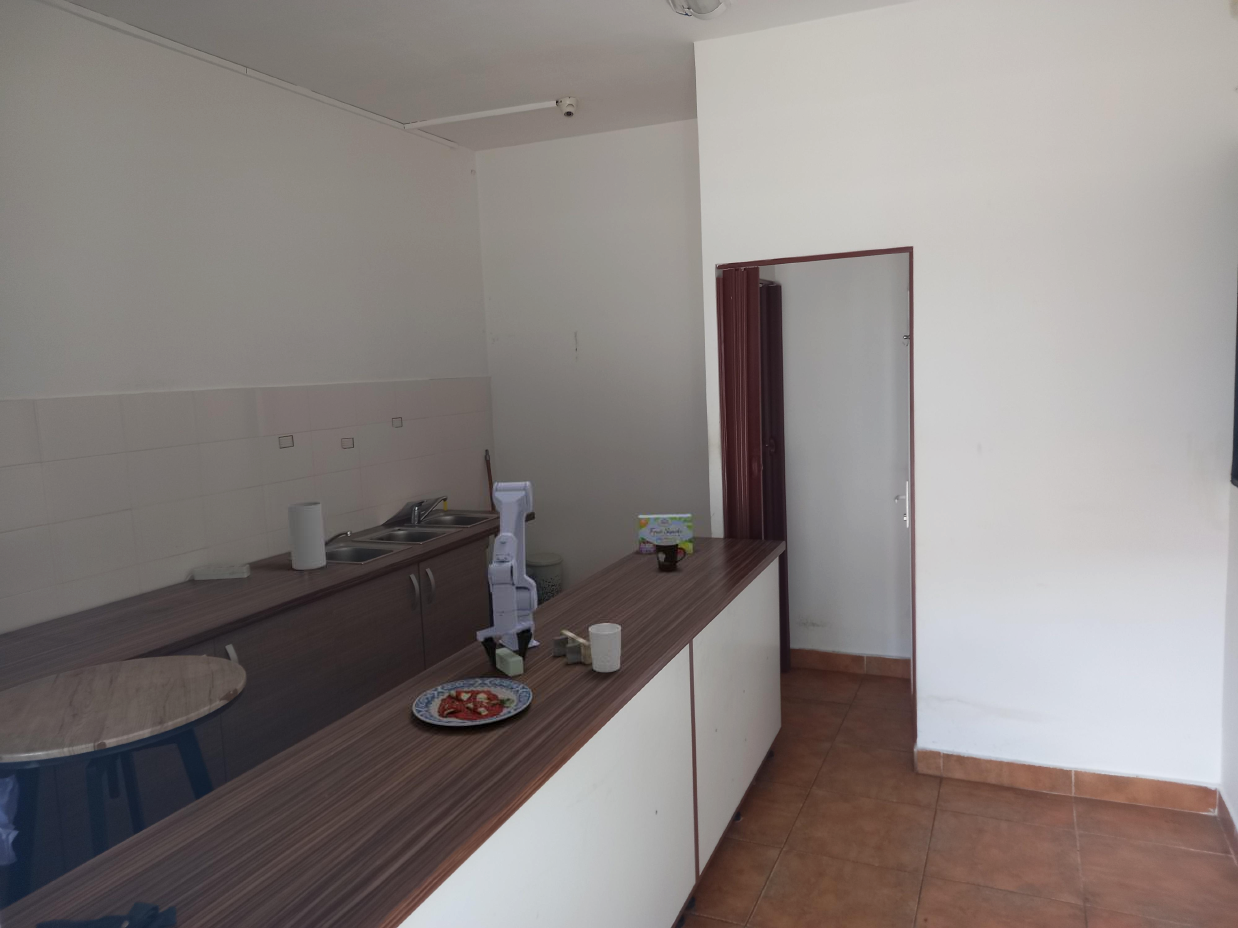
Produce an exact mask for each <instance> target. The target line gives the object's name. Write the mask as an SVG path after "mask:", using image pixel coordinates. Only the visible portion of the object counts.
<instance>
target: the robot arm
mask: <svg viewBox="0 0 1238 928" xmlns="http://www.w3.org/2000/svg"><path fill="white" fill-rule="evenodd" d="M492 502H493V504H494V506H495V508H496V510H497V511H498V513H499V534H498V535H497V536H495V538H494V542H493V543H494V544H493V550H492V551H493V553H492V563H490V564H489V565H488V570H487V576H488V583H489V589H490V593H491V594H492V596H491V597H492V611H493V626H491V627H488V628H486V629H483V630H479V631H476V640H478V641H479V642H480V643H481V644H482V646H483V649H484V650H485V652H486V655H487V657H488V660H489V664H490V667H492V668H493V669H495V668H497V667H496V649H497V642H495V638H499V637H501V639H499V641H498V642H499V644H501V645H503V646H504V647H506V648H507V649H509V650H510V651H512V652H514V651H515V652H516V651H518V656H520V657H521V658H523V662H525V661H526V655H527V652H528V649H529V648H532V647H538V646H540V642H538V641H536V640H535V639H534V631H535V622H534V620H533V612H535V611H536V610H537V607H538V592H537V584H536V582H535V581H534V580H533V579H532V578H531V577H529V576H528V575H527V574H526V573H527V571H526V527H525V526H526V516H527V514H530V513H531V512H532V511H533V505H534V504H533V502H534V501H533V487H532V483H531V482H530V481H528V480H527V481H516V482H515V481H514V482H510V481H508V482H497V481H496V482H495V483H493V486H492Z"/></svg>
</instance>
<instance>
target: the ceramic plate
mask: <svg viewBox="0 0 1238 928" xmlns="http://www.w3.org/2000/svg"><path fill="white" fill-rule="evenodd" d="M532 698H533V693H532V690H531V689H530V688H529V687H528V686H527V685H525V684H523V683H520V682H518V681H514V680H511V679H504V678H498V677H497V678H495V677H484V678H483V677H482V678H480V677H479V678H469V679H463V680H456V681H452V682H449V683H444V684H442V685H438V686H436V687H434V688H431V689H429V690H427V691H425V692H423V693H422V694H421V695H420V696H418V697H417V698H416V699H415V701H414V702H413V704H412V711H413V714H414V715H415V716H416V717H417V718H419V719H420V720H422V721H424V722H427V723H430V724H434V725H439V726H449V727H450V726H451V727H466V726H475V725H483V724H489V723H492V722H497V721H501V720H504V719H506V718H509V717H512V716H514V715H515V714H518V713H519V712H521V711H523V710H524V709H526V707H528V706H529V704H530V703H531V701H532Z"/></svg>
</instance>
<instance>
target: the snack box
mask: <svg viewBox="0 0 1238 928" xmlns="http://www.w3.org/2000/svg"><path fill="white" fill-rule="evenodd" d="M637 521H638V524H637V525H638V527H637V529H638V553H639V555H652V554H653V555H654V554H655V555H657V553H656V547H655V542H657V541H662V540H674V541H678V542H679V546H678V548H680V547H681V548H683V549H684V550H685V552H686V554H692V553H694V547H693V546H694V545H693V544H694V541H693V537H694V536H693V517H692V513H676V514H675V513H673V514H672V513H671V514H667V513H666V514H665V513H664V514H639V515H637ZM678 554H684V552H683V550H682V549H679V550H678Z"/></svg>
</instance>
